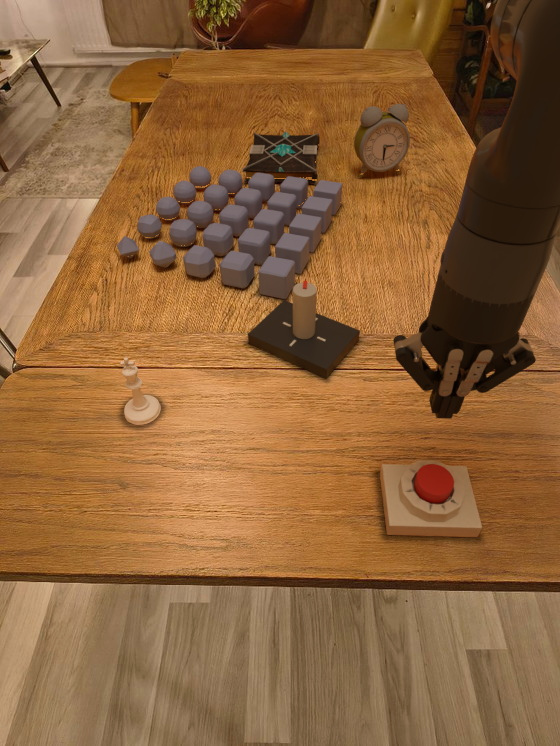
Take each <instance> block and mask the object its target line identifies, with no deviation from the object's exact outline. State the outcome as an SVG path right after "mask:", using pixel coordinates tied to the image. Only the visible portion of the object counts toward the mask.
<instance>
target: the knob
mask: <svg viewBox="0 0 560 746" xmlns="http://www.w3.org/2000/svg"><path fill="white" fill-rule="evenodd" d="M317 295H318V289H317V286H316V285H315V284H314V283H311V282H308V280H302V282H299V283H295V285H294V286H293V288H292V303H293V334H294V336H296V337H297V338H299V339H309V338H311V337H312V336H314V334H315V321H316V313H317Z"/></svg>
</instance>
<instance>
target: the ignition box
mask: <svg viewBox="0 0 560 746" xmlns="http://www.w3.org/2000/svg"><path fill="white" fill-rule="evenodd" d="M427 464H436V465H440V466H442V467H444V468H446V469H447V470H448V471H449V472H450V473H451V475H452V477H453V479H454V486H453V489H452V491H451V494H450V496H449V498H448V499H447V500H446V501H444V502H442V503H436V504H435V503H429V502H427V501H425V500H423V499H421V498H420V497H419V496H418V494H417V493H416V491H415V488H414V481H415V478H416V475H417V472H418V470H419V469H420V468H421V467H422V466H424V465H427ZM379 479H380V487H381V488H380V489H381V496H382V497H381V498H382V504H383V513H384V522H385V528H386V529H385V531H386V535H387V536H414V537H415V536H418V537H455V538H456V537H457V538H458V537H459V538H478V537H479V535H480V533H481V531H482V530H483V525H482V521H481V517H480V513H479V509H478V505H477V502H476V497H475V494H474V490H473V486H472V481H471V478H470V474H469V470H468V467H467V465H447V464H445V463H443V462H440V461H438V460H434V459H419V460H416V461H414V462H413V463H411V464H400V463H399V464H398V463H397V464H395V463H394V464H393V463H382V464H381V467H380V472H379Z"/></svg>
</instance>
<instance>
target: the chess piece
mask: <svg viewBox="0 0 560 746" xmlns="http://www.w3.org/2000/svg"><path fill="white" fill-rule="evenodd" d="M119 366H120V367H123V368H121V375H122V376H123V377H124V378H125V379H126V380H125V387H126V389H128V390H131V393H132V398H131V399H129V400H128V401H127V402H126V404H125V406H124V408H123V413H124V418H125V419H126V420H125V421H127V422H129V423H130V424H132V425H137V426H142V425H146V424H150V423H152V422H153V421H155V420H156V419H157V418H158V417H159V416H160V414H161V412H162V411H161V409H162V407H161V406H162V405H161V404H160V402H159V400H158V398H156V397H155V396H153V395H150V394H143V391H142V390H141V387H142V385H143V380H142V379H141V378H140V377H139V376H138V373H139V368H138V366H136V363H135V361H133V360H129V357H124V358H123V360H120V362H119Z"/></svg>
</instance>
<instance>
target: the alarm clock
mask: <svg viewBox="0 0 560 746" xmlns="http://www.w3.org/2000/svg"><path fill="white" fill-rule="evenodd" d="M409 118H410V112H409V109H408V107H407V105H406V104H405V103H395V104H392V105H391V106H390V107H388V108H387V111H383V110H382V109H381V108H380V107H379V106H375V105H372V106H368V107H366V108H365V109H364V110H363V111H362V112H361V115H360V125H359V126H358V129H357V130H356V133H355V135H354V140H353V147H354V152H355V155H356V156H357V158H358V160H359V161H360V162H361V163H362V166H361V168H360V171H361V173H365V172H366V173H367V172H368V171H369V170H370V171H371V172H375V173H384V172H387V171H390V170H394V169H395V170H398V169H400V163H401V162H402V161H403V160H404V158H405V157H406V155H407V153H408V151H409V148H410V144H411V135H410V131H409V129H408V127H407V126H406V124H407V123H408V122H409ZM395 170H394V171H395ZM366 173H365V174H366ZM395 173H396V174H397V175H400V174H401V170H400V171H395ZM363 177H364V175H360V173H359V174H358V179H362V178H363Z"/></svg>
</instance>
